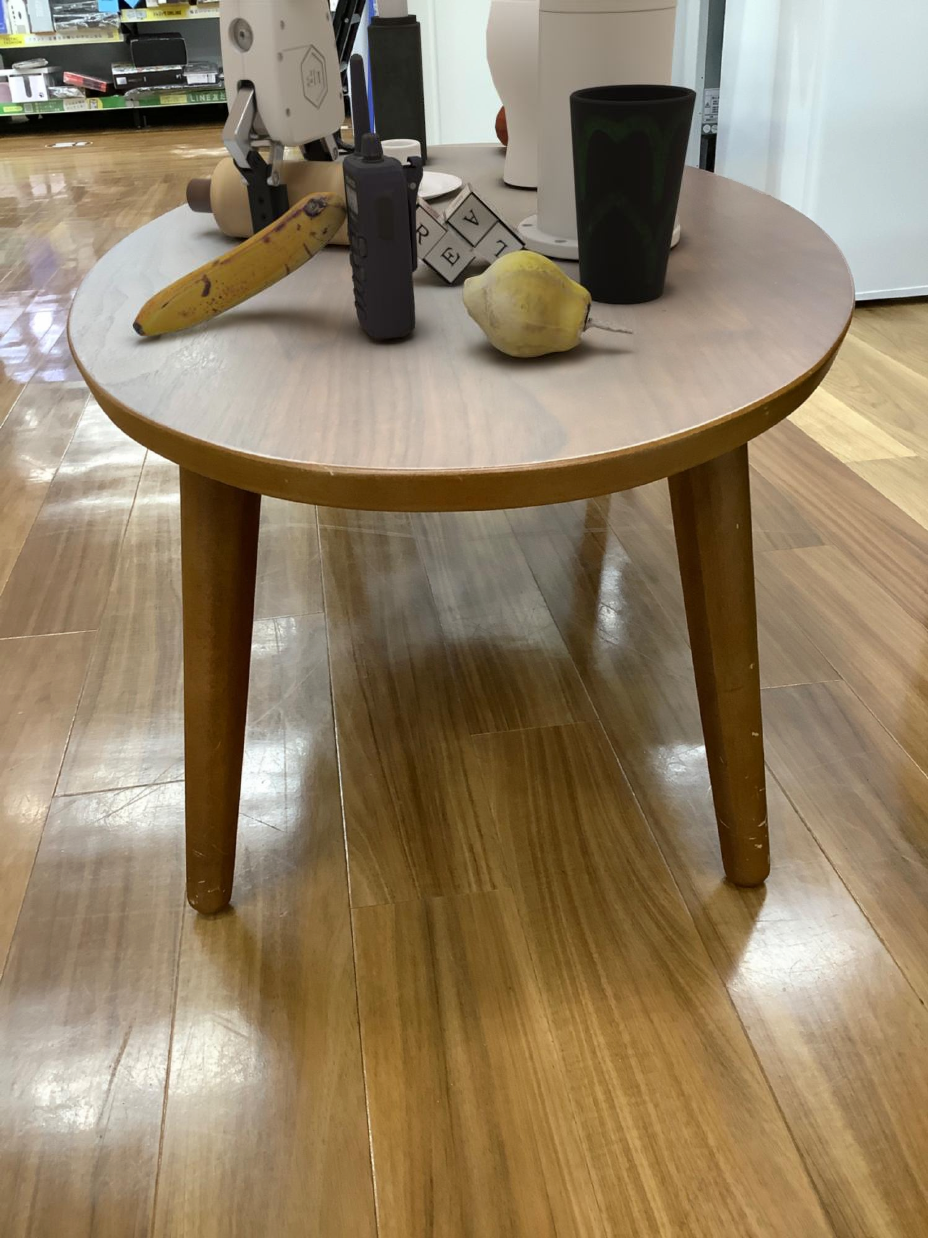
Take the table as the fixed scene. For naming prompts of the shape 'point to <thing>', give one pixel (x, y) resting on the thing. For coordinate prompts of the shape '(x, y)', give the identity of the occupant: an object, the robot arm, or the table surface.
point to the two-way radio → (380, 223)
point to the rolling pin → (231, 194)
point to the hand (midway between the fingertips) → (299, 224)
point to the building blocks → (463, 234)
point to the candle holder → (431, 181)
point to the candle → (397, 74)
